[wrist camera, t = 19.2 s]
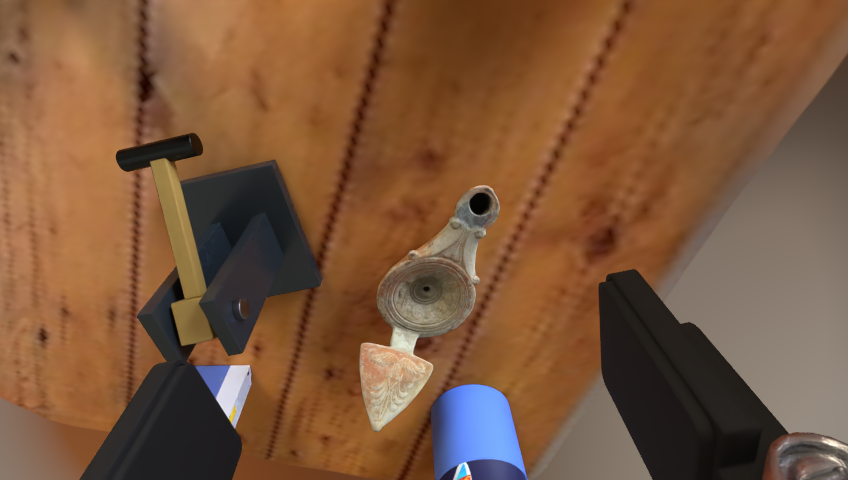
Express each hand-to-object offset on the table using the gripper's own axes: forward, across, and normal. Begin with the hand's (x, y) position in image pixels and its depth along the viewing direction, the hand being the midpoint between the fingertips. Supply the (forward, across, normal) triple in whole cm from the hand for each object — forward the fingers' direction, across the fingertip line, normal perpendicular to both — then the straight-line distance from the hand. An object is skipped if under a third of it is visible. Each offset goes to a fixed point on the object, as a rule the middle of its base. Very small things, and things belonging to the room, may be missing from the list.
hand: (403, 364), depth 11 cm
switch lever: (+20, +16, +4) cm, 26 cm away
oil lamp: (+28, +2, +16) cm, 33 cm away
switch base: (+28, +16, +8) cm, 33 cm away
